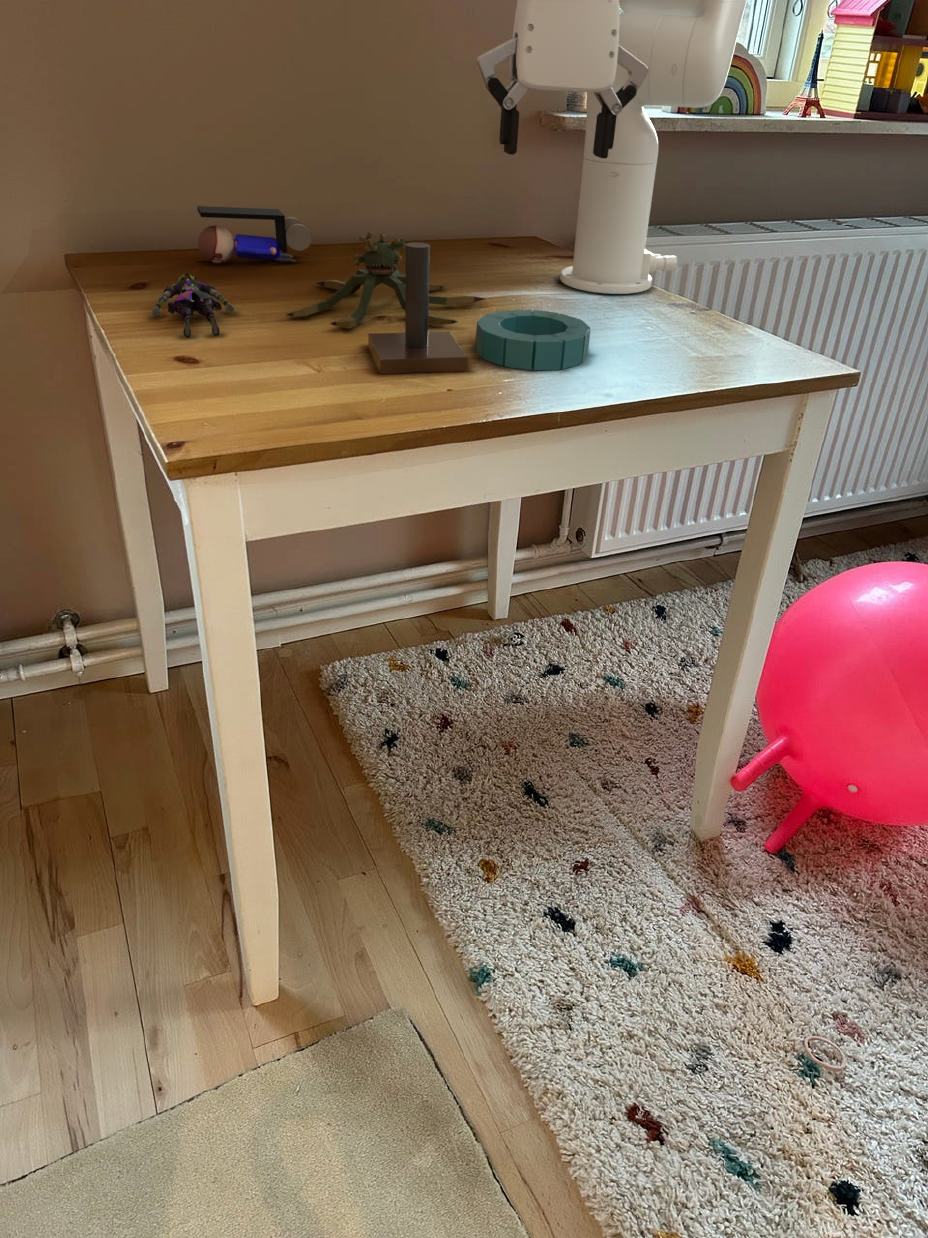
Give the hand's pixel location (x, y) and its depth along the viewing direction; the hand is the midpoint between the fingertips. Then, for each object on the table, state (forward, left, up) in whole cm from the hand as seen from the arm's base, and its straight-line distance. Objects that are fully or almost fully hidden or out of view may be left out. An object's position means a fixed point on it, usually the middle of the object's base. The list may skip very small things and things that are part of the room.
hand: (555, 154), depth 99 cm
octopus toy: (+15, -14, -19) cm, 28 cm away
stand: (+15, +6, -19) cm, 25 cm away
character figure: (+38, -12, -19) cm, 45 cm away
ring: (+2, +5, -19) cm, 20 cm away
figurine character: (+30, -39, -19) cm, 53 cm away
